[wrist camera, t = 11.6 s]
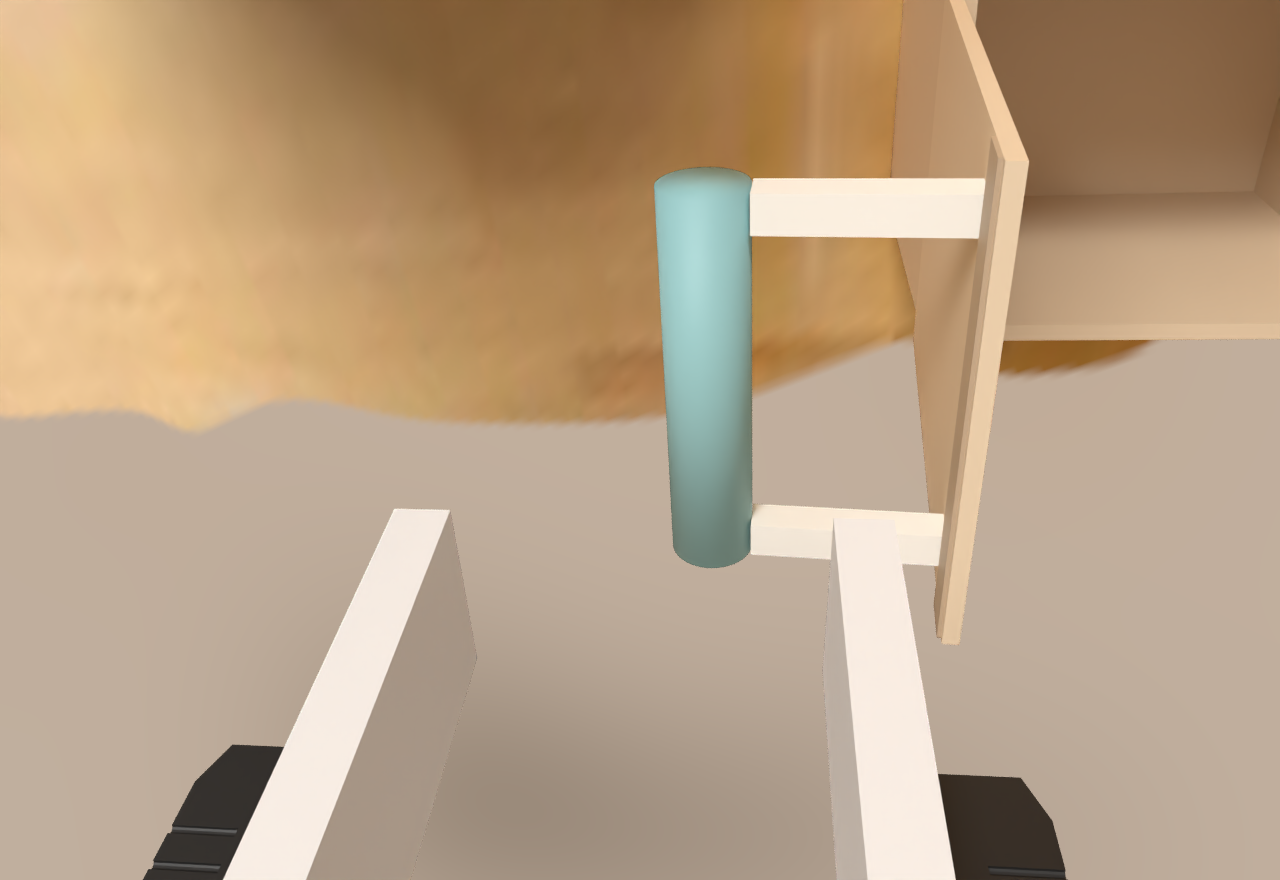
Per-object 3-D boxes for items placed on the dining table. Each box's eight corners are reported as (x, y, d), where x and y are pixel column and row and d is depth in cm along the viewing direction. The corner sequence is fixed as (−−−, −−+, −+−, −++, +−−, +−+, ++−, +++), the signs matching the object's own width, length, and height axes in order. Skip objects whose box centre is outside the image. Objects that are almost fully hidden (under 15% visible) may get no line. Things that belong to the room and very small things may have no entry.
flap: (924, 340, 37) (726, 334, 39) (959, -12, 31) (721, -5, 32) (959, 644, 25) (664, 623, 26) (1029, 161, 19) (635, 161, 20)
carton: (888, 206, 49) (923, 341, 38) (909, -84, 42) (959, -22, 31) (1259, 199, 47) (1408, 338, 36) (1342, -106, 40) (1554, -48, 29)
